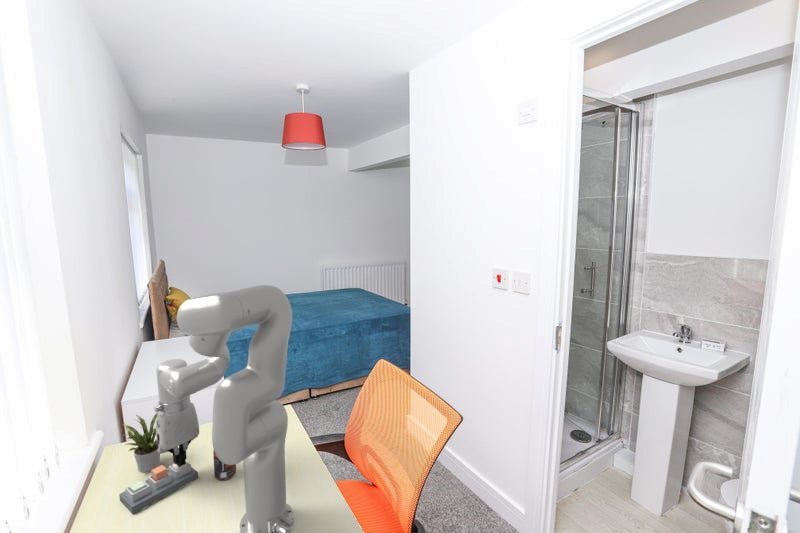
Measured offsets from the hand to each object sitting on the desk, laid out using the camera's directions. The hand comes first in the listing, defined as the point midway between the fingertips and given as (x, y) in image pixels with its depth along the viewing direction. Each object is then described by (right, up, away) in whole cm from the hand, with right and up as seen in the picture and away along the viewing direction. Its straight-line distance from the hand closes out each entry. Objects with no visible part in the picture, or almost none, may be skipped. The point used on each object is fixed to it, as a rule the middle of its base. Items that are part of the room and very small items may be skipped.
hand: (180, 463), depth 114 cm
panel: (-3, -5, -4) cm, 7 cm away
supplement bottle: (+12, -5, +3) cm, 13 cm away
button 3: (0, -3, +1) cm, 3 cm away
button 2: (-3, -2, -4) cm, 6 cm away
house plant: (-12, -4, +7) cm, 14 cm away
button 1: (-7, -4, -8) cm, 11 cm away
